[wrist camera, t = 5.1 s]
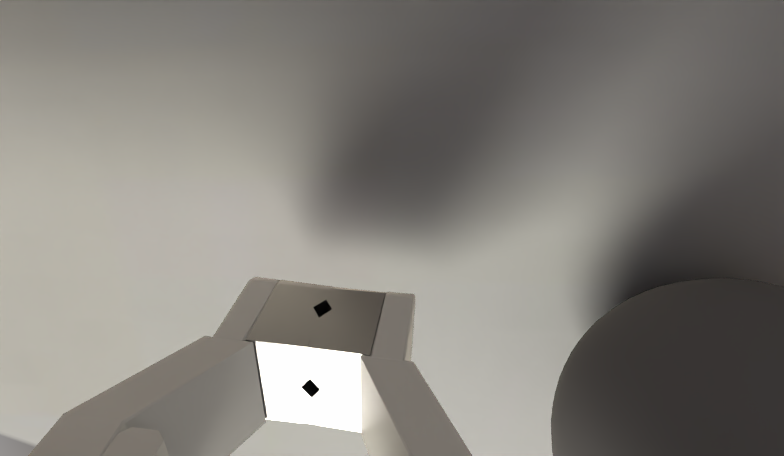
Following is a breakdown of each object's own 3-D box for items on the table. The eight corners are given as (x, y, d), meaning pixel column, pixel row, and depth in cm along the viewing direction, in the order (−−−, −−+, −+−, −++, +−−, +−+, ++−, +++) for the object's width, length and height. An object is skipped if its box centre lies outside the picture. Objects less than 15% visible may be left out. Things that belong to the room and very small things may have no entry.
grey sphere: (1401, 711, 4) (954, 265, 8) (656, 466, 5) (612, 179, 9) (878, 788, 7) (759, 443, 11) (499, 638, 8) (522, 369, 12)
